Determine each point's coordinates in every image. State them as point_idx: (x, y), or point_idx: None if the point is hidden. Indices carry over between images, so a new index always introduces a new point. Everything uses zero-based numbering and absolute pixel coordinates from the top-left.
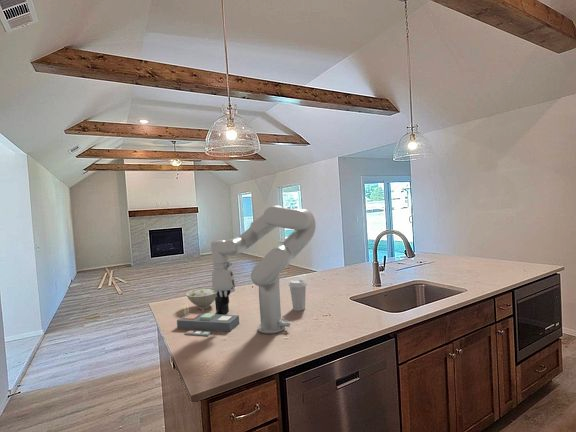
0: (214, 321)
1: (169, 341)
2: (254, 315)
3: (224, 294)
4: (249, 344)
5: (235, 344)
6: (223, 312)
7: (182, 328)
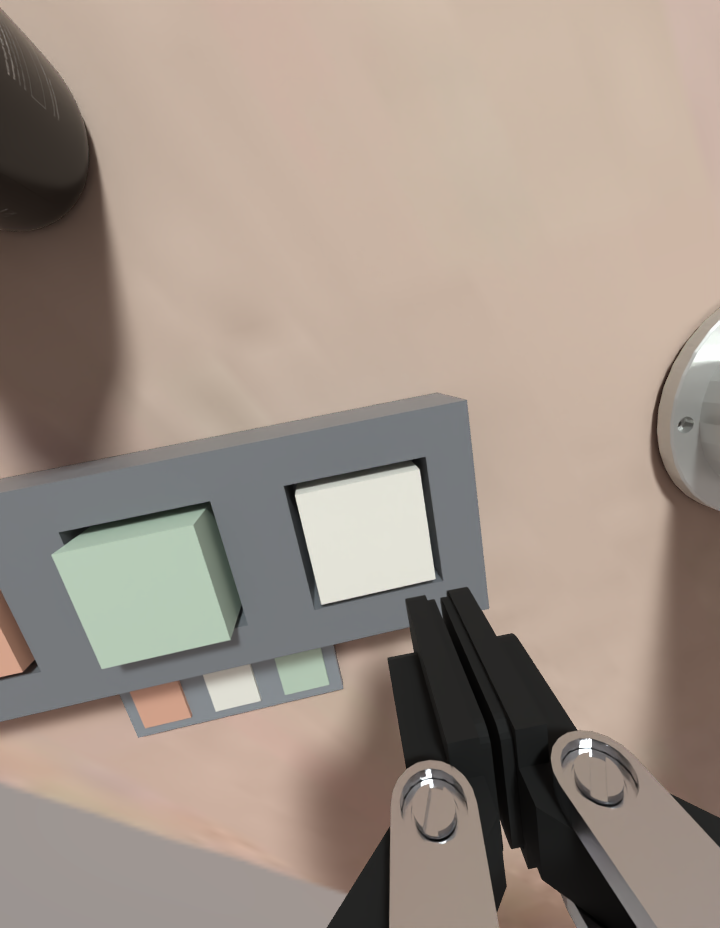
0: (312, 628)
1: (141, 828)
2: (476, 115)
3: (494, 840)
4: (681, 660)
5: (598, 692)
6: (62, 196)
7: None
